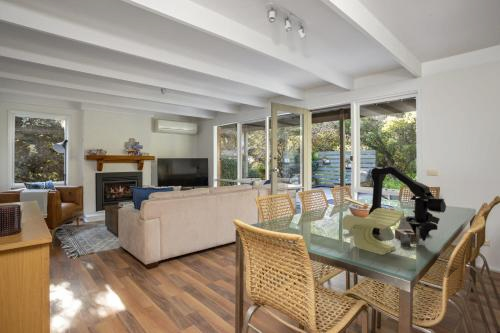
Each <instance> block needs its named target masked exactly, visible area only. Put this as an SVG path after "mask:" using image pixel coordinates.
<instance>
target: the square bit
mask: <svg viewBox="0 0 500 333" xmlns="http://www.w3.org/2000/svg"><path fill="white" fill-rule="evenodd" d="M415 244H416V245H417V246H420V247H421V246H423V247H425V246H426V240H425V241H423V240H422V237H421V234H420V231H419V227H416V242H415Z"/></svg>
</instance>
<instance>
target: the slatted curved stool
mask: <svg viewBox="0 0 500 333" xmlns="http://www.w3.org/2000/svg"><path fill="white" fill-rule="evenodd" d="M368 214H369V213H368ZM403 217H405V211H403V210H395V209H388V208H383V207H381V208H377V209H375V210H374V211H373V212H371V213H370V214H369V215H367V216H365V217H361V216H356V215H351V214H346V215H344V216H343V218H342V230H346V231H352V235H353V237H352V238H353V244H354V246H355V247H357V249H361V250H365V251H367V252H371V253H374V254H379V255H382V256H383V255H386V254H388V253H391V252H393V251H395V250H396V246H395V245H394V244H389V243H386V242H383V241H381V240H378V239H377V238H375V237H374V235H373V234H372V231H373V229H374V228H380V229H381V230H384V229H387V228H388V229H389V228H391V227H393V226H397V224H399V223H400V221H401V220H402V218H403Z"/></svg>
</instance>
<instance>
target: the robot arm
mask: <svg viewBox="0 0 500 333" xmlns="http://www.w3.org/2000/svg"><path fill="white" fill-rule="evenodd" d="M370 174H371V175H370V176H371V179H372V183H373V187H372V200H371V201H372V202H371V203H372V204H371V206H370V209H369V210H368V215H369V214H370V213H371V212H373V211H374V210H375V209H377V208H382V197H383V183H384V181H385V179H386V176H387V175H392V176H393V177H394V178H396V179H397V180H398V181H399V182H401V183H403V184H404V185H405V186H407V188H409V190H410V192H411V193H412V194H413V196H412V197H411V198H410V199H409V200H412V201H414V209H413V210H412V213H413V214H414V215H407V216H405V217H406V221H407V222H410V223H409V224H410V226H411V228H412V230H413V232H414V234H415V236H416V227H419V231H420V234H421V237H422V240H423V241H425V242H426V239H427V237H428V233H429V234H430V232H431V231H437V230H438V229H439V228H438V225H439V222H440V217H439V218H438V217H436V216H434V215H433V213H430V211H431V212H436V213H441V214H443V213H445V211H446V209H447V204H446V202H445V199H444V198H438V197H435V196H434V195H433V193H432V192H431V190H430V187H429V186H428V185H426V184H424V183H422V182H419V181H416V180H415V179H413V178H412V177H410V176H409V175H408V174H406V173H404V172H403V171H402V170H400V169H399V168H398V167H397V166H388V167H373V168H372V169H371V172H370ZM368 215H367V216H368ZM420 226H421V227H420ZM380 233H381V232H380V228H374V229H373V231H372V235H373V234H376V235H377V234H378V235H380Z"/></svg>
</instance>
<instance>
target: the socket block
mask: <svg viewBox="0 0 500 333" xmlns="http://www.w3.org/2000/svg"><path fill="white" fill-rule="evenodd" d="M402 232H405V233H410V234H411V243H412V242H415V243H416V236H415V234H414V232H413V230H409V229H397V228H395V229H394V237H395V238H397V239H399V240H401V233H402Z"/></svg>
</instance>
